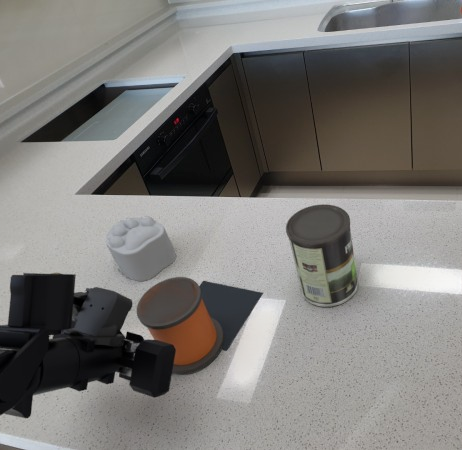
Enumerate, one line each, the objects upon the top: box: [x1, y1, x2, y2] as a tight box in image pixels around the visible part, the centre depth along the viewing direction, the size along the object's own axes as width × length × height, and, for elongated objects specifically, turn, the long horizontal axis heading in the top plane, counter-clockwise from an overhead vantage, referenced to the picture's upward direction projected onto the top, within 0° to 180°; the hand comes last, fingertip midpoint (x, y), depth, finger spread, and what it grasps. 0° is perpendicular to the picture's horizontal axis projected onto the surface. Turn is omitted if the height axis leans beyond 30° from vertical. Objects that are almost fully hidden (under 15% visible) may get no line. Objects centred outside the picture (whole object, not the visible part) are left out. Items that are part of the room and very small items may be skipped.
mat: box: [199, 280, 264, 351], centre depth 81 cm, size 13×13×1 cm
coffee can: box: [285, 204, 359, 308], centre depth 77 cm, size 10×10×14 cm
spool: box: [136, 276, 224, 375], centre depth 72 cm, size 11×11×11 cm
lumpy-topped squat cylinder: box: [105, 215, 177, 282], centre depth 94 cm, size 10×13×9 cm
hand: (154, 346), depth 67 cm, fingers closed
